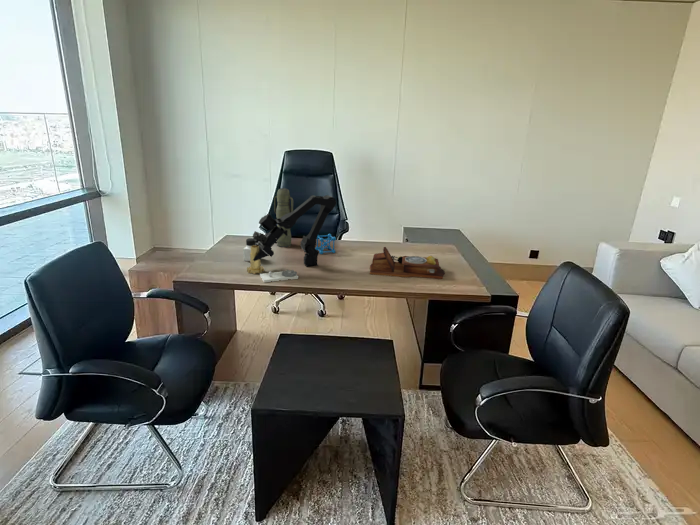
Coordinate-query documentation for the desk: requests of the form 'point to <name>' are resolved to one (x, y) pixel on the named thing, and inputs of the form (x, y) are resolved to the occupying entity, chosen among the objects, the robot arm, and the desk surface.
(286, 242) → the thermos
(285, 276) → the gear board
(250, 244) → the white pill bottle
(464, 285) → the desk surface
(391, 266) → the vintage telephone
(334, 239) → the molecular structure
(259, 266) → the yellow octagonal tube
